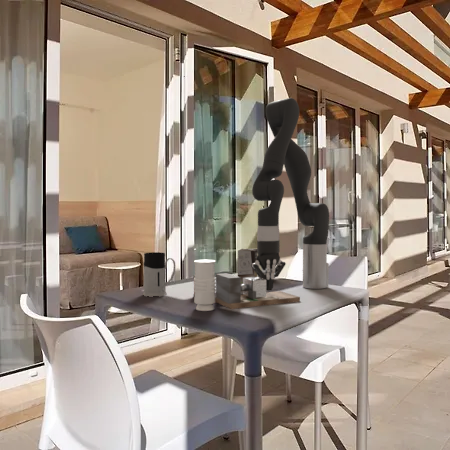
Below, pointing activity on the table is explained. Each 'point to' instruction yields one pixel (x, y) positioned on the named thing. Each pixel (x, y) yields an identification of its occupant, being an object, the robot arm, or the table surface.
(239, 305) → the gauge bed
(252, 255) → the coffee box
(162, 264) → the grey handled cylinder
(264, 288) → the white block
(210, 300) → the candle
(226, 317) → the table surface
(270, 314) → the table surface
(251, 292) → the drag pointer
